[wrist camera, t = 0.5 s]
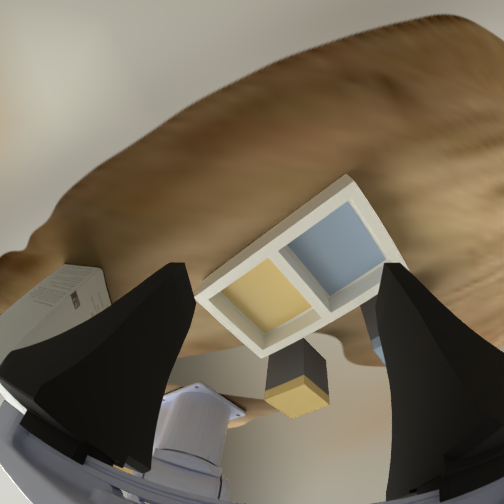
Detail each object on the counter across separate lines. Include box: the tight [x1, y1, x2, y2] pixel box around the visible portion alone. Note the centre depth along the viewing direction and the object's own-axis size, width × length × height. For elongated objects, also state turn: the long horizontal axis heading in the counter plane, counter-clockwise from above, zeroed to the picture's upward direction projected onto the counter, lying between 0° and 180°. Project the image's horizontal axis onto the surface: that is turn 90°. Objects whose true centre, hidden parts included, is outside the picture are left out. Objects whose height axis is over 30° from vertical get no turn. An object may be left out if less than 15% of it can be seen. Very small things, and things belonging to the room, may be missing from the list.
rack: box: [194, 174, 409, 359], centre depth 21 cm, size 14×8×2 cm, turn 131°
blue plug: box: [360, 294, 386, 366], centre depth 20 cm, size 4×4×6 cm
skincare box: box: [0, 264, 111, 415], centre depth 19 cm, size 8×6×15 cm
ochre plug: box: [264, 338, 329, 419], centre depth 24 cm, size 4×4×6 cm
